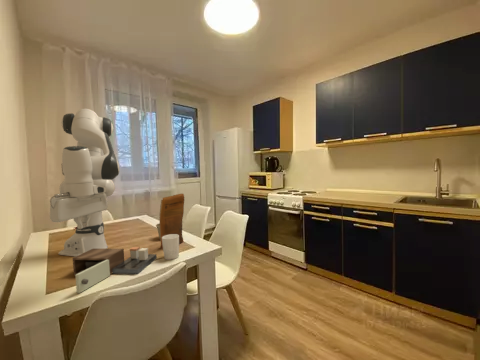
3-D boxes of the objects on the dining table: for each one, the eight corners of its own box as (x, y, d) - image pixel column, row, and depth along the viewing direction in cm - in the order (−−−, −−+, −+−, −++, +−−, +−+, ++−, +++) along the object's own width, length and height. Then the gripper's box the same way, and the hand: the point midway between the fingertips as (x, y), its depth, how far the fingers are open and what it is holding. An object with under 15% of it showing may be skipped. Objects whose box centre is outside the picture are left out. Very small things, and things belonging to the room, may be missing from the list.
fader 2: (138, 260, 100) (138, 250, 100) (142, 257, 103) (141, 248, 103) (145, 260, 100) (144, 250, 99) (148, 257, 103) (148, 248, 102)
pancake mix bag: (190, 240, 132) (188, 193, 131) (164, 251, 116) (161, 197, 114) (182, 239, 136) (179, 192, 134) (155, 249, 119) (152, 196, 118)
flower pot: (169, 240, 134) (168, 225, 134) (154, 240, 134) (153, 226, 134) (174, 235, 144) (173, 222, 143) (159, 236, 144) (159, 222, 143)
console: (112, 273, 92) (112, 268, 92) (134, 258, 108) (134, 253, 108) (137, 274, 91) (137, 269, 91) (156, 258, 107) (156, 254, 107)
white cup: (170, 261, 103) (169, 239, 102) (159, 258, 107) (158, 237, 106) (183, 255, 109) (182, 235, 109) (172, 252, 114) (171, 233, 113)
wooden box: (73, 274, 93) (72, 258, 92) (94, 263, 104) (93, 248, 103) (107, 275, 91) (106, 258, 91) (124, 263, 102) (123, 248, 102)
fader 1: (130, 258, 102) (129, 249, 102) (134, 256, 105) (133, 246, 105) (136, 258, 102) (135, 249, 102) (140, 256, 105) (139, 246, 105)
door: (82, 293, 77) (80, 275, 77) (76, 292, 78) (75, 274, 78) (112, 275, 90) (111, 260, 90) (107, 275, 91) (106, 259, 90)
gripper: (57, 195, 72) (61, 237, 73) (109, 187, 91) (111, 220, 92) (42, 195, 73) (46, 236, 74) (96, 187, 93) (99, 220, 94)
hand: (83, 227), depth 83 cm, fingers closed
